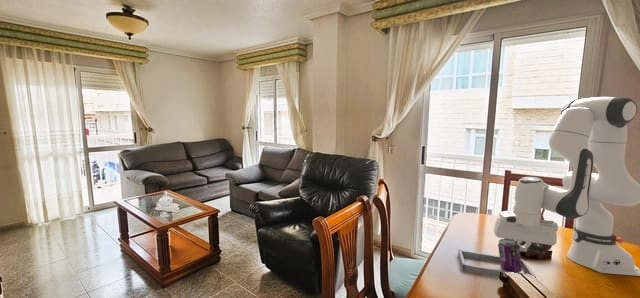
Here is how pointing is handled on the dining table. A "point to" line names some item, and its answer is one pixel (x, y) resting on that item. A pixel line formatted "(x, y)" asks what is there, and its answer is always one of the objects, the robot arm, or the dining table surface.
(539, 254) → the clay ocarina
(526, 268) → the frame
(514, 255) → the beverage can
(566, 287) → the dining table surface
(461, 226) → the dining table surface
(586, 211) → the robot arm
